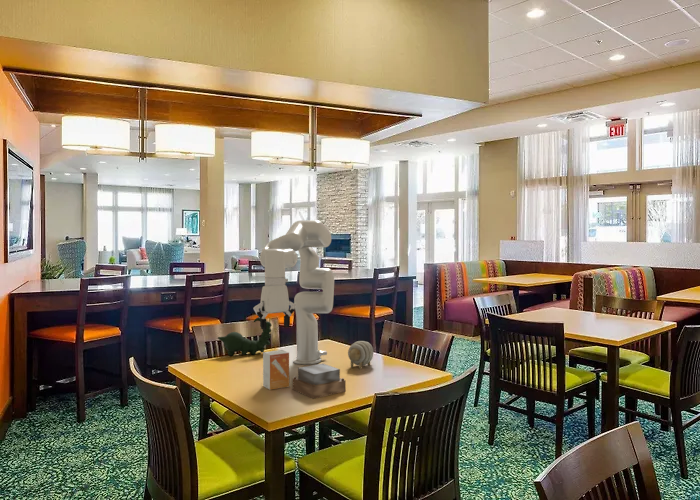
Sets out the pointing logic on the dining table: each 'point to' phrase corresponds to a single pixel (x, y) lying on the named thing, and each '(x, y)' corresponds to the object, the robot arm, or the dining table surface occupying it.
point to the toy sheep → (360, 353)
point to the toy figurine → (246, 341)
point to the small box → (276, 369)
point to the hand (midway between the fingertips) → (275, 327)
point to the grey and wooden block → (319, 381)
